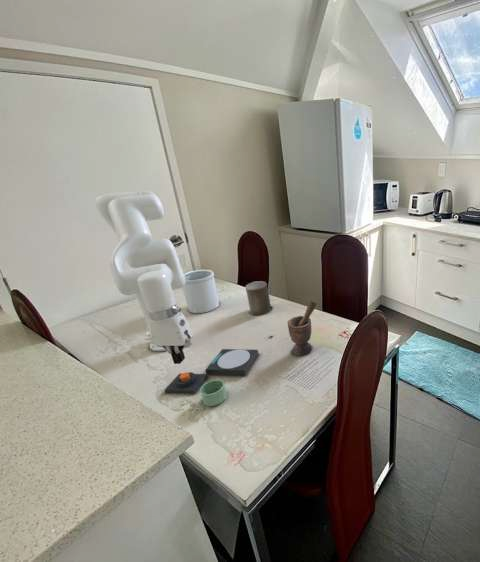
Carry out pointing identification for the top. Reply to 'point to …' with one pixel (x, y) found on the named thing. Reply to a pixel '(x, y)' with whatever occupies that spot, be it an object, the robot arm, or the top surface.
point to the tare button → (184, 377)
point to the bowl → (213, 392)
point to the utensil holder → (200, 291)
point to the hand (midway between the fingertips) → (179, 361)
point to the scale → (232, 362)
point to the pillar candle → (258, 297)
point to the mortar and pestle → (301, 330)
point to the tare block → (186, 384)
